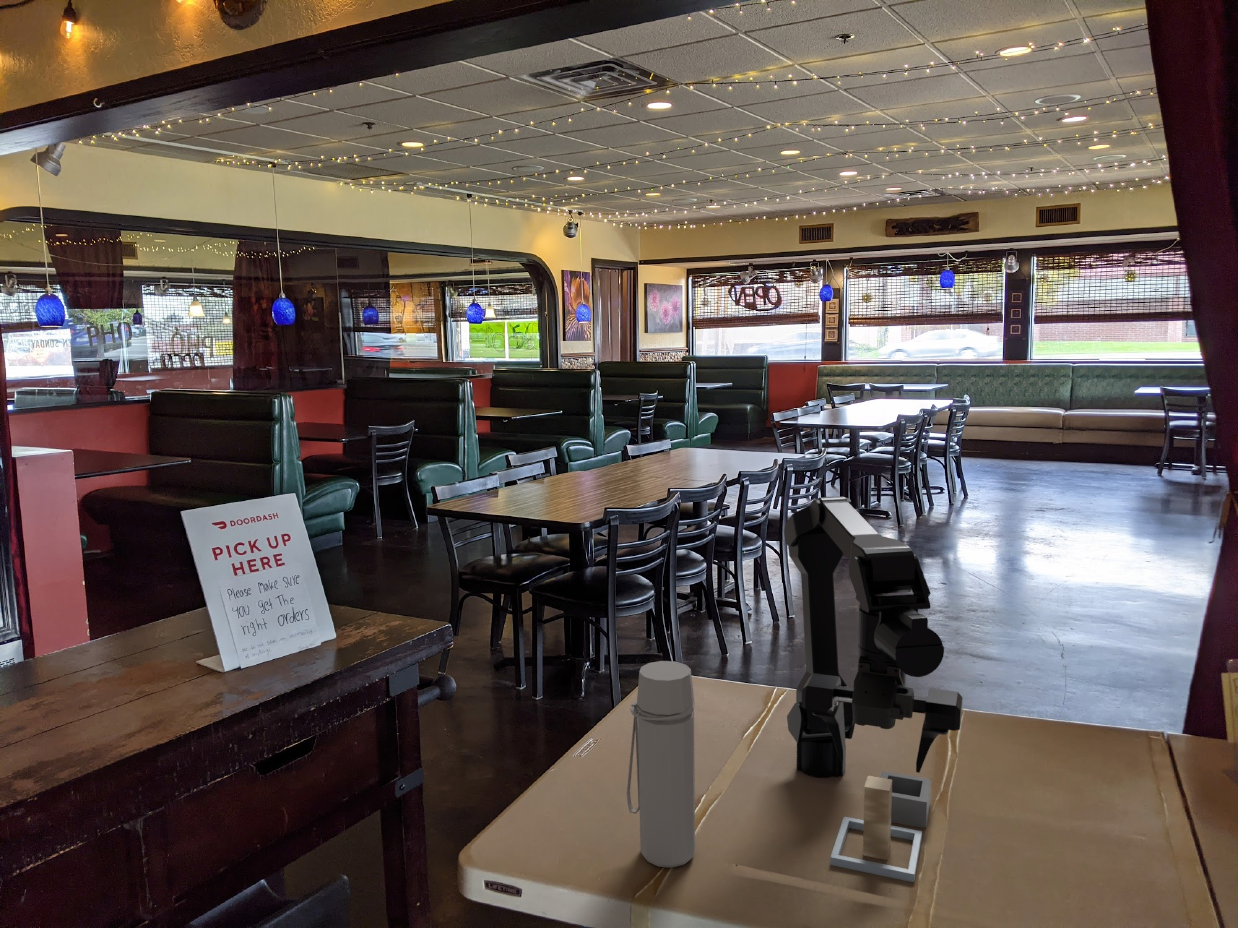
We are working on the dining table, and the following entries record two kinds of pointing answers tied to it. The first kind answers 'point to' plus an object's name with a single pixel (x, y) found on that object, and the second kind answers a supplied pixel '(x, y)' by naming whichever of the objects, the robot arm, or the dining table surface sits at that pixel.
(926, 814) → the block with square hole
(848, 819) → the grey flat frame
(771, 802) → the dining table surface
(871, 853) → the peg
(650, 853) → the water bottle
